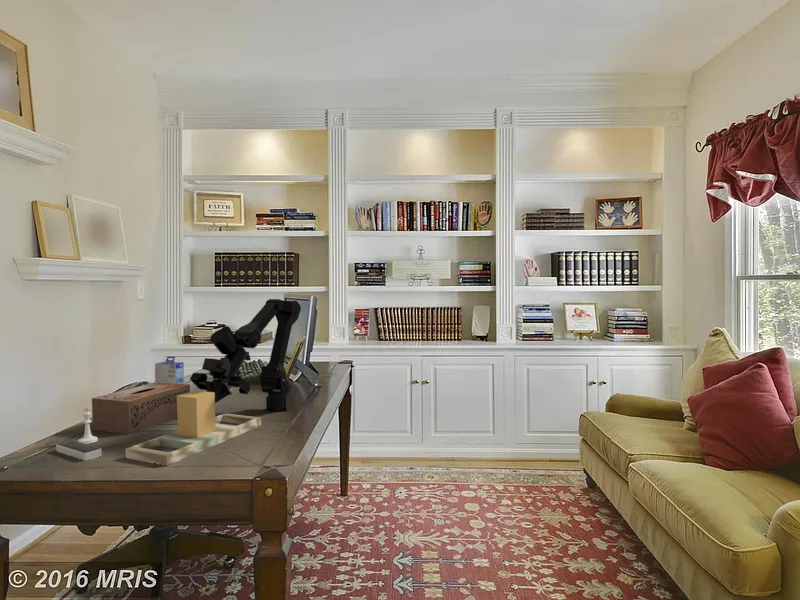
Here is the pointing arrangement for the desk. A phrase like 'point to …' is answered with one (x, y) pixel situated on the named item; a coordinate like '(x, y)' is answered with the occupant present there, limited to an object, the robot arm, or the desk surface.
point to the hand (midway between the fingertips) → (206, 407)
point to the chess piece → (87, 429)
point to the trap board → (191, 441)
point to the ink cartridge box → (169, 371)
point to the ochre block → (196, 413)
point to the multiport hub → (78, 450)
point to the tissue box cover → (137, 407)
